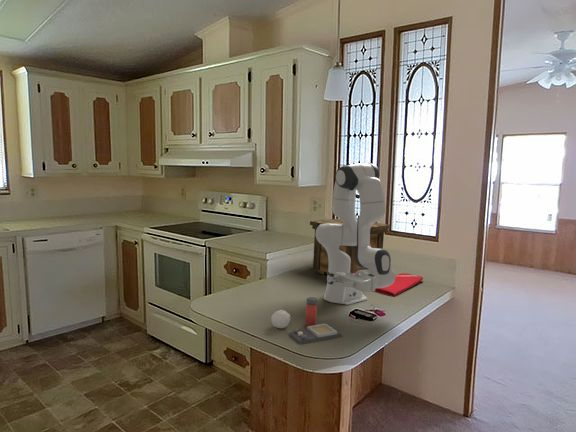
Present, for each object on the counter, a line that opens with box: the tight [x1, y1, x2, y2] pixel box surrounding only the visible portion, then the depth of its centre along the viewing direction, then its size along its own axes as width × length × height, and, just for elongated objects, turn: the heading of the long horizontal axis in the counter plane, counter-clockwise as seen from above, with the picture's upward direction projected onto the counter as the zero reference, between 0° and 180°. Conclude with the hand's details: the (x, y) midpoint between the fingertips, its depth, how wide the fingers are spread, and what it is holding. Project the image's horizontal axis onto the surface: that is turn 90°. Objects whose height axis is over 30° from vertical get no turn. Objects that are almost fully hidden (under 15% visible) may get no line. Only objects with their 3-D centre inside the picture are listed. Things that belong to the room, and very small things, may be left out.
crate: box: [309, 218, 391, 275], centre depth 259 cm, size 35×35×33 cm
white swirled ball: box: [270, 309, 291, 329], centre depth 171 cm, size 8×8×8 cm
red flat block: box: [373, 273, 424, 297], centre depth 240 cm, size 16×41×4 cm, turn 141°
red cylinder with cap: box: [304, 296, 318, 328], centre depth 174 cm, size 4×4×12 cm
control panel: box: [288, 323, 343, 345], centre depth 165 cm, size 19×9×2 cm, turn 117°
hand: (337, 281), depth 177 cm, fingers open, 8 cm apart
